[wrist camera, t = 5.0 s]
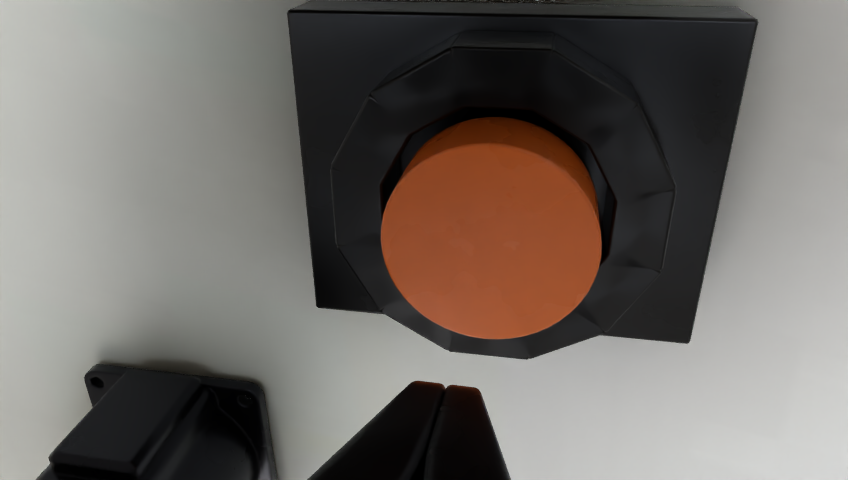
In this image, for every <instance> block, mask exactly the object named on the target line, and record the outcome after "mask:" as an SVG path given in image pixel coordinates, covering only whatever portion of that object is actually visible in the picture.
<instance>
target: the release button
mask: <svg viewBox="0 0 848 480" xmlns="http://www.w3.org/2000/svg"><path fill="white" fill-rule="evenodd" d="M381 246H382V253H383V257H384V261H385V264H386V267H387V269H388V272H389V274H390V277H391V278H392V280H393V282H394V284H395V286H396V287H397V289H398V290H399V291H400V293H401V294H402V295H403V297H404V298H405V299H406V300H407V301H408V302H409V303H410V304H411V305H412V306H413V307H414V308H415V309H416V310H417V311H419V312H420V313H421V314H422V315H423V316H425V317H426V318H428V319H429V320H431V321H432V322H434V323H436V324H438V325H440V326H442V327H444V328H446V329H448V330H451V331H454V332H456V333H459V334H463V335H467V336H470V337H476V338H483V339H511V338H517V337H522V336H526V335H530V334H533V333H537V332H539V331H541V330H544V329H546V328H548V327H550V326H552V325H554V324H555V323H557V322H559V321H560V320H562V319H563V318H564V317H566V316H567V315H568V314H569V313H571V312H572V311H573V310H574V309H575V308H576V307H577V306H578V305H579V304H580V303H581V301H582V300H583V299H584V297H585V296H586V295H587V293H588V292H589V290H590V288H591V286H592V284H593V283H594V280H595V278H596V275H597V272H598V270H599V265H600V260H601V252H602V239H601V229H600V220H599V211H598V202H597V195H596V191H595V187H594V184H593V181H592V179H591V176H590V174H589V172H588V170H587V168H586V167H585V165H584V163H583V162H582V160H581V159H580V158H579V157H578V155H577V154H576V153H575V152H574V150H573V149H571V148H570V147H569V146H568V145H567V144H566V143H565V142H564V141H563V140H561V139H560V138H559V137H557V136H556V135H554V134H553V133H551V132H549V131H547V130H546V129H544V128H542V127H540V126H537V125H535V124H532V123H529V122H527V121H522V120H518V119H514V118H506V117H483V118H476V119H470V120H467V121H463V122H460V123H457V124H455V125H452V126H450V127H448V128H446V129H444V130H442V131H441V132H439V133H437V134H436V135H434V136H433V137H432V138H431V139H429V140H428V141H427V142H426V143H425V144H424V145H423V146H422V147H421V148H420V149H419V150H418V151H417V152H416V154H415V155H414V156H413V158H412V159H411V161H410V162H409V164H408V166H407V167H406V169H405V171H404V173H403V174H402V176H401V178H400V180H399V181H398V183H397V185H396V187H395V188H394V190H393V192H392V194H391V196H390V198H389V200H388V202H387V205H386V208H385V211H384V214H383V219H382V224H381Z"/></svg>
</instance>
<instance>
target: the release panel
mask: <svg viewBox="0 0 848 480" xmlns="http://www.w3.org/2000/svg"><path fill="white" fill-rule="evenodd" d="M287 15H288V25H289V35H290V45H291V55H292V65H293V75H294V85H295V96H296V106H297V116H298V126H299V136H300V146H301V156H302V166H303V176H304V186H305V196H306V207H307V217H308V227H309V237H310V247H311V257H312V267H313V277H314V287H315V297H316V306H317V307H318V308H326V309H336V310H346V311H356V312H367V313H377V314H385V315H387V316H389V317H390V318H392V319H394V320H396V321H397V322H399V323H401V324H403V325H404V326H406V327H408V328H409V329H411V330H413V331H415V332H416V333H418V334H420V335H421V336H423V337H425V338H427V339H428V340H430V341H432V342H434V343H435V344H437V345H439V346H440V347H442V348H444V349H446V350H449V351H450V352H459V353H469V354H478V355H488V356H498V357H507V358H517V359H526V360H527V359H528V358H529V359H531V358H534V357H537V356H540V355H543V354H546V353H549V352H552V351H555V350H558V349H560V348H563V347H566V346H569V345H572V344H575V343H578V342H581V341H584V340H587V339H590V338H592V337H595V336H598V335H604V336H614V337H624V338H635V339H645V340H655V341H665V342H676V343H686V344H687V343H689V342H690V340H691V335H692V330H693V325H694V321H695V316H696V311H697V307H698V302H699V297H700V293H701V288H702V283H703V279H704V274H705V269H706V265H707V260H708V255H709V251H710V246H711V241H712V236H713V232H714V227H715V222H716V218H717V213H718V208H719V204H720V199H721V194H722V190H723V185H724V180H725V176H726V171H727V166H728V161H729V157H730V152H731V147H732V143H733V138H734V133H735V129H736V124H737V119H738V115H739V110H740V105H741V101H742V96H743V91H744V87H745V82H746V77H747V72H748V68H749V63H750V58H751V54H752V49H753V44H754V40H755V35H756V30H757V26H758V20H757V19H756V18H754V17H753V16H751V15H750V14H748V13H747V12H745V11H744V10H742V9H740V8H738V7H714V6H654V5H594V4H534V3H474V2H414V1H353V0H311V1H309V2H306V3H304V4H302V5H299V6H297V7H295V8H292V9H290V10H288V13H287ZM483 117H506V118H514V119H518V120H522V121H527V122H529V123H532V124H535V125H537V126H540V127H542V128H544V129H546V130H547V131H549V132H551V133H553V134H554V135H556V136H557V137H559V138H560V139H561V140H563V141H564V142H565V143H566V144H567V145H568V146H569V147H570V148H571V149H573V150H574V152H575V153H576V154H577V155H578V157H579V158H580V159H581V160H582V162H583V163H584V165H585V167H586V168H587V170H588V172H589V174H590V176H591V179H592V181H593V184H594V187H595V191H596V195H597V202H598V211H599V220H600V229H601V239H602V252H601V260H600V265H599V270H598V272H597V275H596V278H595V280H594V283H593V284H592V286H591V288H590V290H589V292H588V293H587V295H586V296H585V297H584V299H583V300H582V301H581V303H580V304H579V305H578V306H577V307H576V308H575V309H574V310H573V311H572V312H571V313H569V314H568V315H567V316H566V317H564V318H563V319H562V320H560V321H559V322H557V323H555V324H554V325H552V326H550V327H548V328H546V329H544V330H541V331H539V332H537V333H533V334H530V335H526V336H522V337H517V338H511V339H483V338H476V337H470V336H467V335H463V334H459V333H456V332H454V331H451V330H448V329H446V328H444V327H442V326H440V325H438V324H436V323H434V322H432V321H431V320H429V319H428V318H426V317H425V316H423V315H422V314H421V313H420V312H419V311H417V310H416V309H415V308H414V307H413V306H412V305H411V304H410V303H409V302H408V301H407V300H406V299H405V298H404V297H403V295H402V294H401V293H400V291H399V290H398V289H397V287H396V286H395V284H394V282H393V280H392V278H391V277H390V274H389V272H388V269H387V267H386V264H385V261H384V257H383V253H382V246H381V224H382V219H383V214H384V211H385V208H386V205H387V202H388V200H389V198H390V196H391V194H392V192H393V190H394V188H395V187H396V185H397V183H398V181H399V180H400V178H401V176H402V174H403V173H404V171H405V169H406V167H407V166H408V164H409V162H410V161H411V159H412V158H413V156H414V155H415V154H416V152H417V151H418V150H419V149H420V148H421V147H422V146H423V145H424V144H425V143H426V142H427V141H428V140H429V139H431V138H432V137H433V136H434V135H436V134H437V133H439V132H441V131H442V130H444V129H446V128H448V127H450V126H452V125H455V124H457V123H460V122H463V121H467V120H470V119H476V118H483Z"/></svg>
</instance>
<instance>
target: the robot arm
mask: <svg viewBox="0 0 848 480" xmlns="http://www.w3.org/2000/svg"><path fill="white" fill-rule="evenodd" d="M84 379H85V384H86V387H87V390H88V393H89V397H90V400H91V403H92V406H93V408H92V409H91V410H90V411H89V412H88V413H87V415H86V416H85V417H84V418H83V419H82V420H81V421H80V422H79V423H78V424H77V425H76V427H75V428H74V429H73V430H72V431H71V432H70V433H69V434H68V435H67V436H66V437H65V439H64V440H63V441H62V442H61V443H60V444H59V445H58V446H57V447H56V448H55V449H54V451H53V452H52V453H51V454H50V456H49V457H48V458H49V461H50V464H49V466H48V467H47V468H46V469H45V470H44V471H43V472H42V473H41V474H40V476H39V477H38V478H37V479H36V480H277V476H276V469H275V463H274V456H273V450H272V443H271V437H270V430H269V423H268V417H267V410H266V404H265V397H264V393H263V391H262V389H261V388H260V387H259V386H258V385H256V384H254V383H252V382H247V381H239V380H231V379H222V378H214V377H205V376H197V375H188V374H180V373H171V372H163V371H155V370H146V369H138V368H129V367H121V366H112V365H104V364H96V365H95V366H93V367H92V368H91V369H90V370H89V371H88V372H87V373H86V375H85V377H84ZM245 395H246V396H248V397H250V398H251V399H249V398H247V397H246V396H245ZM307 480H511V478H510V476H509V473H508V470H507V467H506V464H505V461H504V458H503V455H502V452H501V450H500V447H499V444H498V441H497V438H496V435H495V432H494V429H493V426H492V424H491V421H490V418H489V415H488V412H487V409H486V406H485V403H484V400H483V398H482V395H481V392H480V391H479V390H478V389H477V388H474V387H466V386H457V385H449V386H448V387H447V388H446V389H445V387H444V385H442V384H440V383H432V382H424V381H414V382H412V383H410V384H409V385H408V386H407V387H406V388H405V389H404V390H403V391H402V392H401V393H399V394H398V395H397V396H396V397H395V398H394V399H393V400H392V401H391V402H390V403H389V404H388V405H387V406H386V407H385V408H383V409H382V410H381V411H380V412H379V413H378V414H377V415H376V416H375V417H374V418H373V419H372V420H371V421H370V422H368V423H367V424H366V425H365V426H364V427H363V428H362V429H361V430H360V431H359V432H358V433H357V434H356V435H355V436H353V437H352V438H351V439H350V440H349V441H348V442H347V443H346V444H345V445H344V446H343V447H342V448H341V449H340V450H338V451H337V452H336V453H335V454H334V455H333V456H332V457H331V458H330V459H329V460H328V461H327V462H326V463H325V464H323V465H322V466H321V467H320V468H319V469H318V470H317V471H316V472H315V473H314V474H313V475H312V476H311V477H310V478H308V479H307Z"/></svg>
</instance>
